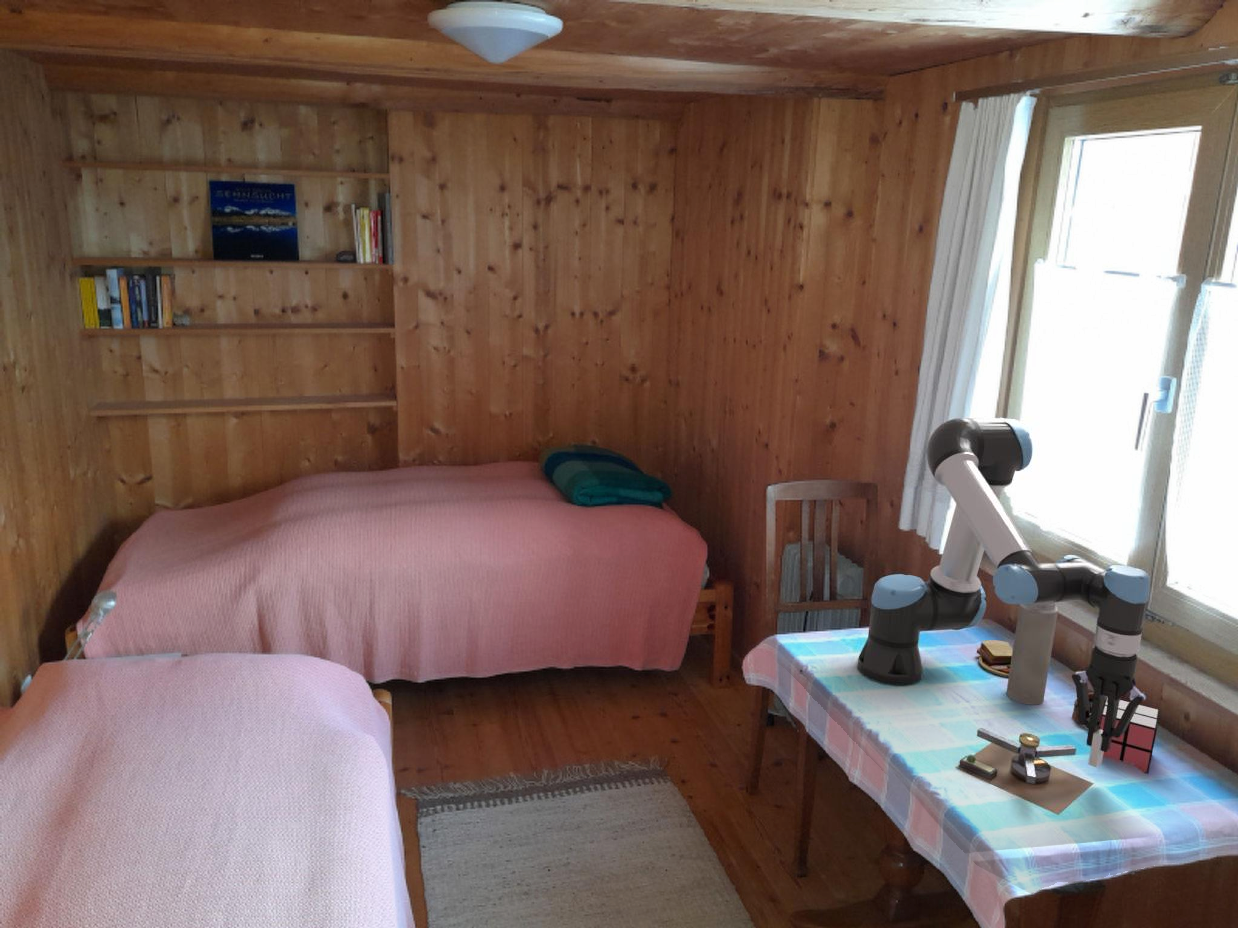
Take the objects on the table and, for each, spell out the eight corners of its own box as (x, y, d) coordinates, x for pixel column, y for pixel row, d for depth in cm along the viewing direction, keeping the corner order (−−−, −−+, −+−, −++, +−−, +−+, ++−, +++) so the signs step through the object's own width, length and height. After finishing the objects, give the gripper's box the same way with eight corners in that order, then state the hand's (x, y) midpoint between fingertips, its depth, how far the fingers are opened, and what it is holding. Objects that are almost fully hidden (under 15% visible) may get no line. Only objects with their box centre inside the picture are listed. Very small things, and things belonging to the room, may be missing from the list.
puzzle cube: (1148, 774, 188) (1157, 729, 186) (1092, 758, 193) (1100, 714, 191) (1151, 753, 197) (1160, 709, 194) (1098, 738, 202) (1105, 695, 199)
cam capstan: (1025, 803, 174) (1031, 764, 172) (972, 751, 191) (977, 716, 189) (1100, 797, 177) (1107, 759, 175) (1041, 747, 194) (1047, 712, 192)
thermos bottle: (1007, 685, 224) (1024, 573, 218) (1044, 693, 221) (1062, 580, 215) (1005, 699, 217) (1022, 584, 211) (1043, 707, 214) (1061, 591, 208)
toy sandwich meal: (989, 679, 228) (992, 660, 227) (968, 655, 241) (971, 637, 240) (1041, 680, 228) (1044, 662, 227) (1017, 656, 242) (1020, 639, 240)
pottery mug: (1131, 739, 203) (1122, 712, 200) (1085, 751, 205) (1076, 725, 202) (1108, 700, 214) (1100, 674, 210) (1066, 712, 216) (1057, 686, 213)
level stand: (954, 772, 186) (957, 754, 185) (992, 746, 196) (995, 729, 196) (1057, 820, 172) (1060, 801, 171) (1092, 788, 182) (1095, 770, 181)
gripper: (1071, 642, 178) (1052, 755, 183) (1145, 666, 169) (1123, 785, 174) (1087, 632, 183) (1068, 742, 188) (1160, 655, 174) (1138, 771, 179)
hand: (1095, 763), depth 181 cm, fingers closed
